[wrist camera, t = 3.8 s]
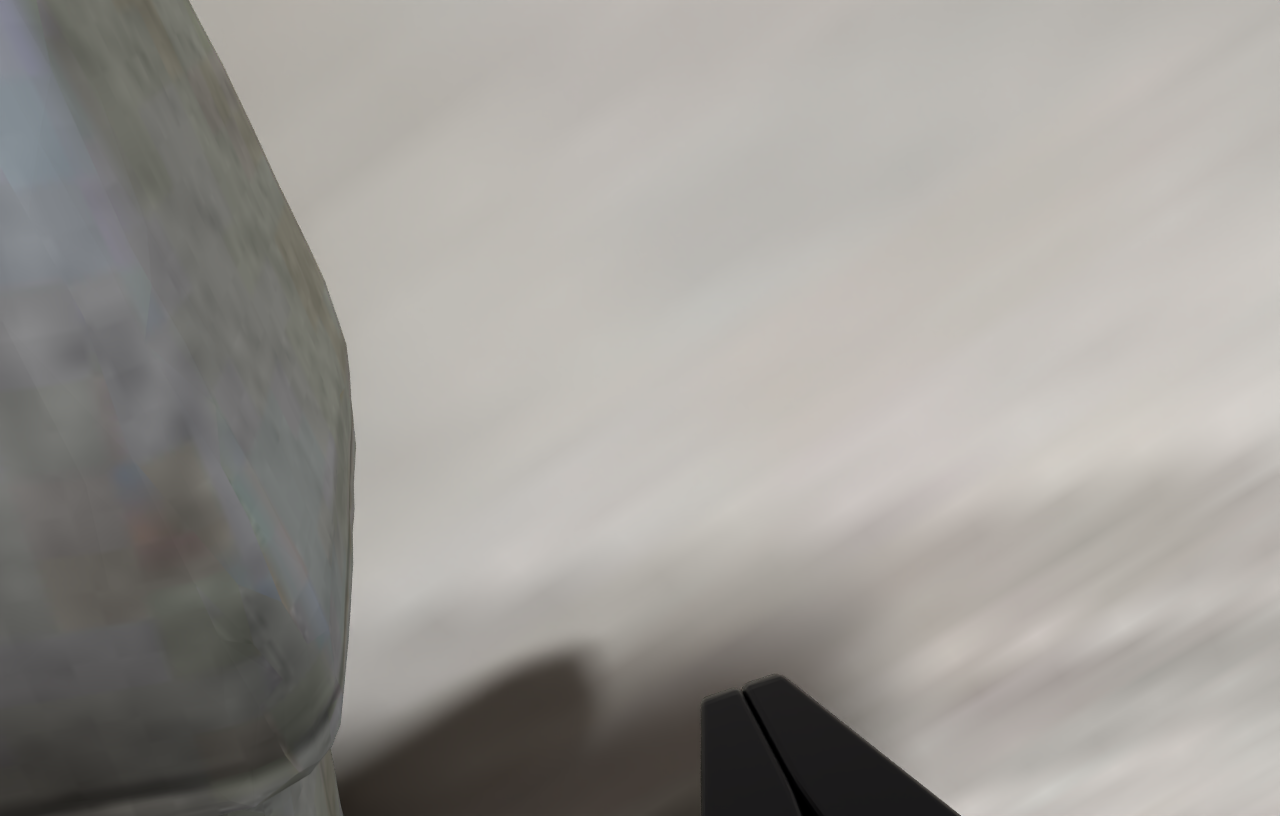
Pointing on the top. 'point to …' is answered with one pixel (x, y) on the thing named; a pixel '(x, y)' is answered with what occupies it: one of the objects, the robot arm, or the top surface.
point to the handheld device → (161, 436)
